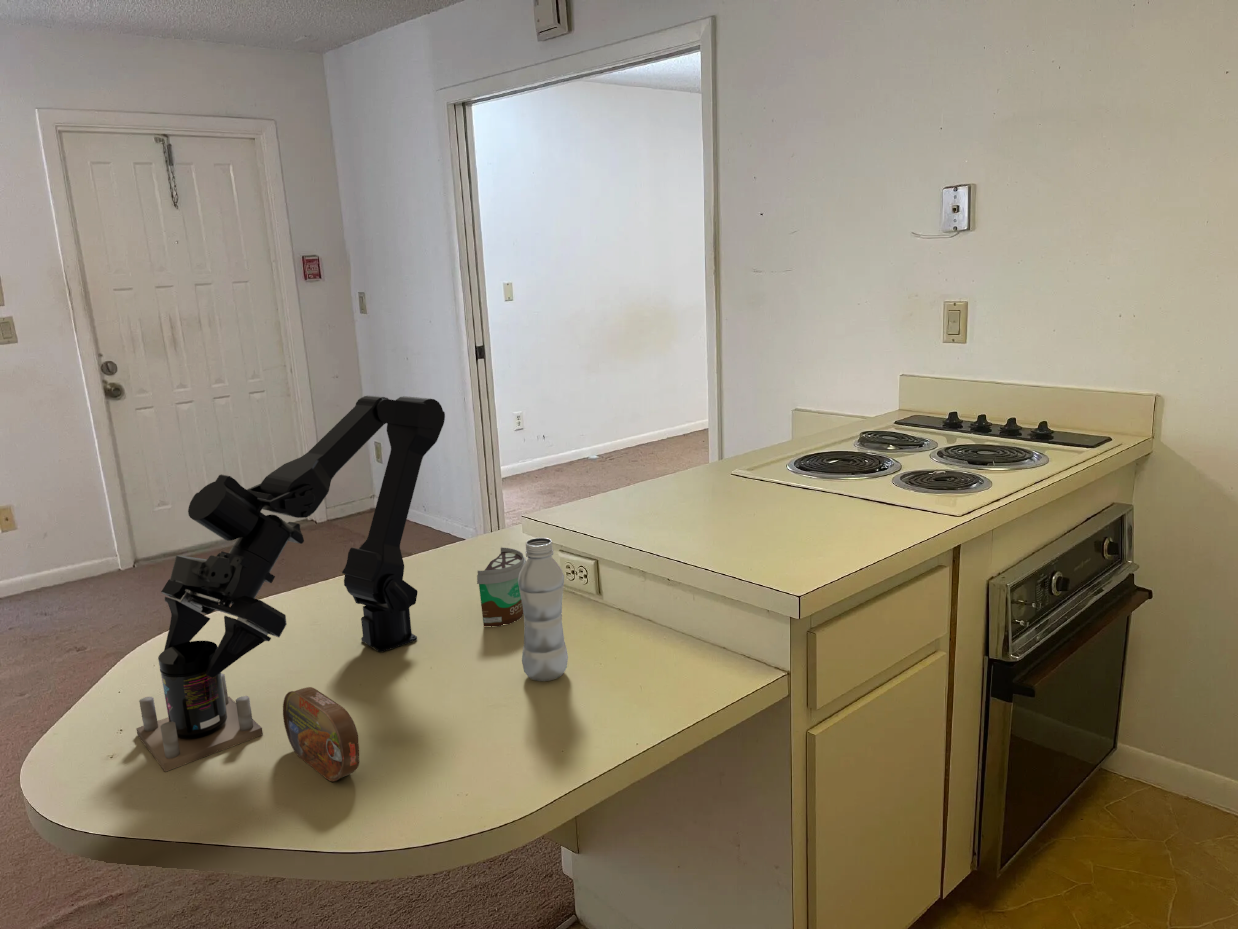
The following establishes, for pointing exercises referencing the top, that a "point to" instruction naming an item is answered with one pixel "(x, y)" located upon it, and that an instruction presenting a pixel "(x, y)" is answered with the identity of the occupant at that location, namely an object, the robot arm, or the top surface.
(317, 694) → the tin
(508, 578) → the food container
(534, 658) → the plastic bottle
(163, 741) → the cradle
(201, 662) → the supplement container
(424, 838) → the top surface
